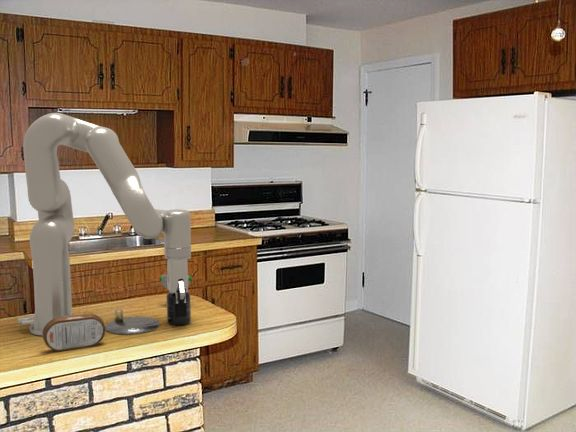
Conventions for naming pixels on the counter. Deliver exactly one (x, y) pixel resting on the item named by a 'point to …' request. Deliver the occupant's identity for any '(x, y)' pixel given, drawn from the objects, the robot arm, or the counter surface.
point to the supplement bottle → (171, 311)
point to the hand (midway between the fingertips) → (178, 312)
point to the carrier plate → (130, 324)
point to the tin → (73, 332)
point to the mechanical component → (164, 280)
